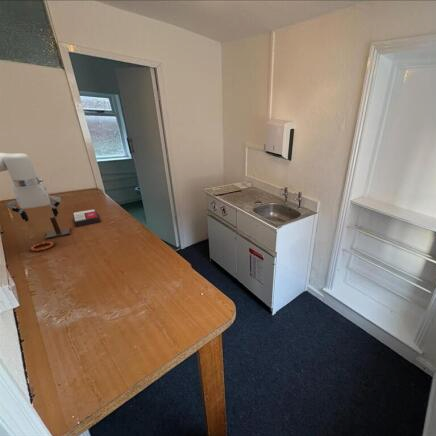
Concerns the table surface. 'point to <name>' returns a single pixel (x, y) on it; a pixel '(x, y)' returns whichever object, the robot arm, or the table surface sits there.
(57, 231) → the post
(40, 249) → the orange ring
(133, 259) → the table surface
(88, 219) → the calculator
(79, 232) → the table surface
